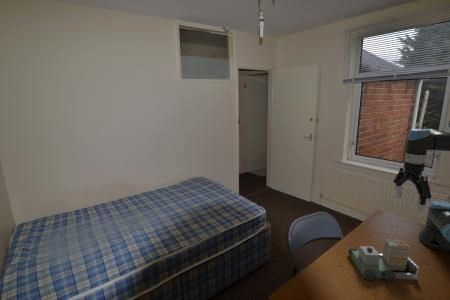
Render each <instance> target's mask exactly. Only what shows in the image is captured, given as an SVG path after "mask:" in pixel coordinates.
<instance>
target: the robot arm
mask: <svg viewBox="0 0 450 300" xmlns="http://www.w3.org/2000/svg"><path fill="white" fill-rule="evenodd" d="M428 151H438V152H450V132H447V131H443V130H438V129H435V128H428V129H427V128H412V129H409V132H408V135H407V138H406V149H405V156H404V163H403V167H399V171H398V173H397V174H396V176H395V177H394V179H393V183H394V184H395V196H394V197H395V199H402V196H403V191H404V190H403V188H404V186H403V185H404V184H405V183H406V182H407V181H410V182H411V183H412V184H413V185H414V186H415V189H416V191H417V193H418V195H419V196H418V197H417V202H416V203H417V204H416V208H415V210H416V211H418V212H419V211H420V212H421V211H422V212H424V209H425V205H426V203H427V199H432V194H431V190H430V186H429V182H428V180H429V179H428V178H429V177H428V176H427V175H422V174H423V172H425V168H426V166H425V165H426V161H427V154H428ZM427 210H428V211H427V216H426V221H425V225H424V226H423V228H422V229H421V231H419V233H418V237H417V238H418V240H419V241H420V242H421V243H422V244H424V245H425V246H427V247H429V248H430V249H434V250H435V251H436V250H437V251H439V252H445V253H450V202H447V201H443V200H442V201H440V200H433V201H431V202H430V203H429V205H428V209H427Z"/></svg>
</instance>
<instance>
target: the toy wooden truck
mask: <svg viewBox="0 0 450 300" xmlns="http://www.w3.org/2000/svg"><path fill="white" fill-rule="evenodd" d="M347 252H348V254H349V256H350V258H351V260H352V262H353V263H354V265H355V266H356V268H357V269H358V271H359V272H360V273H361V275H362V277H363V278H365V280H366V281H369V282H371V281H373V280H376V279H384V280H385V281H386V282H393V281H395V280H396V279H395V274H394V273H393V272H392V271H391V269H390V268H389V267H388V266H387V265H386V263H385V262H384V261H383V260H382V259H381V258H380V254H381V253H379V252H378V251H377V249H376V248H375V247H374V246H371V245H370V246H367V245H365V246H364V245H362V246H361V245H360V246H359V248H358V249H357V248H356V247H350V248H349V249H348V251H347Z"/></svg>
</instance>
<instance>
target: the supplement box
mask: <svg viewBox="0 0 450 300" xmlns="http://www.w3.org/2000/svg"><path fill="white" fill-rule="evenodd" d="M410 249H411V247H410V245H409V244H408V243H407V242H406V241H405V240H400V239H384V243H383V250H382V253H381V254H382V260H383V261H384V262H385V263H386V265H387V266H388V267H389V268H390V269H391V270H392V271H405V270H406V265H407V260H408V257H409V255H410Z"/></svg>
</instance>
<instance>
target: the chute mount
mask: <svg viewBox="0 0 450 300" xmlns="http://www.w3.org/2000/svg"><path fill="white" fill-rule="evenodd" d="M379 254H380V258H381V259H382V254H383V253H379ZM391 271H392V270H391ZM392 272H393V273H394V274H395V279H394V280H410V281H411V280H412V281H414V280H418V277H419V272H420V267H419V266H418V265H417V264H416V263H415V262H414V261H413V260H412V259H411V258H410V256H408V260H407V265H406V270H405V271H392Z"/></svg>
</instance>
